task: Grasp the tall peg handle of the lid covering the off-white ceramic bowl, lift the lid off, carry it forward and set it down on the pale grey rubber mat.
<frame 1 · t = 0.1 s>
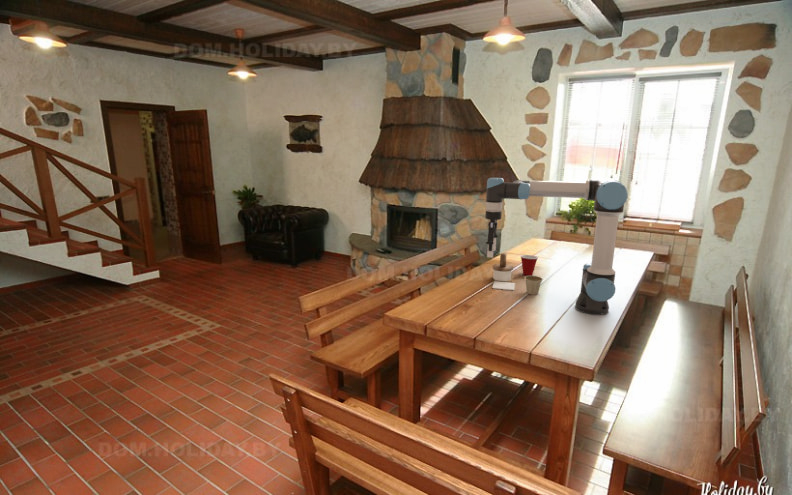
hand: (491, 253, 203), 28 cm above the table, fingers open, 13 cm apart
flower pot: (532, 293, 230), on the table
bowl: (502, 278, 255), on the table
mat: (503, 286, 241), on the table
lid: (502, 268, 253), point 6 cm above the table, touching bowl
plastic cup: (527, 274, 263), on the table
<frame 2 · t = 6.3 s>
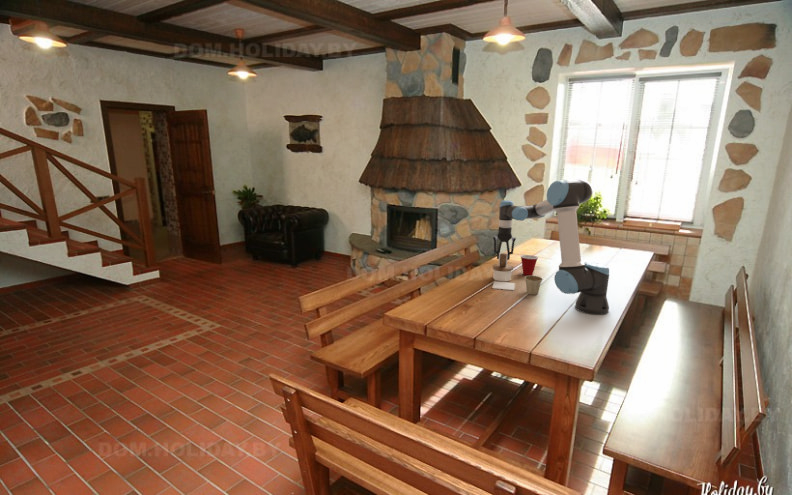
hand: (502, 264, 252), 9 cm above the table, fingers closed on lid, 4 cm apart
lid: (502, 268, 253), point 7 cm above the table, touching bowl, gripper
everything else where it was.
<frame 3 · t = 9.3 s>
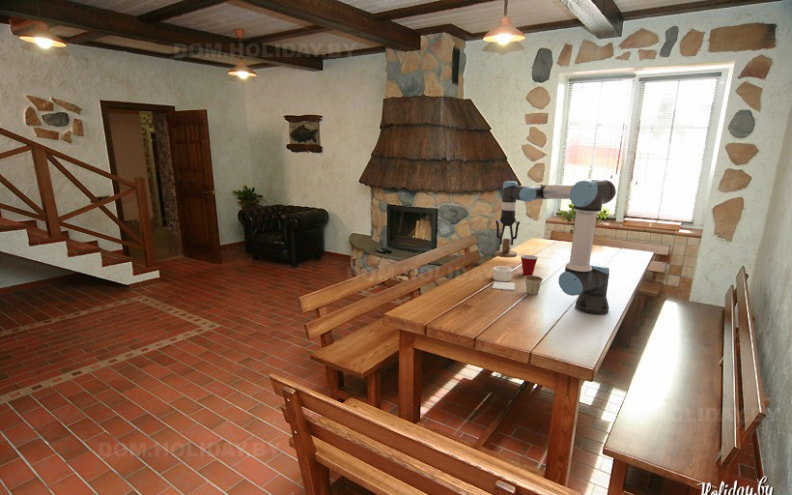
hand: (505, 250, 236), 22 cm above the table, fingers closed on lid, 4 cm apart
lid: (505, 254, 237), point 19 cm above the table, touching gripper
everything else where it was.
when the fingers open (5 cm above the table, at t = 12.8 s): lid drops 2 cm, resting on mat.
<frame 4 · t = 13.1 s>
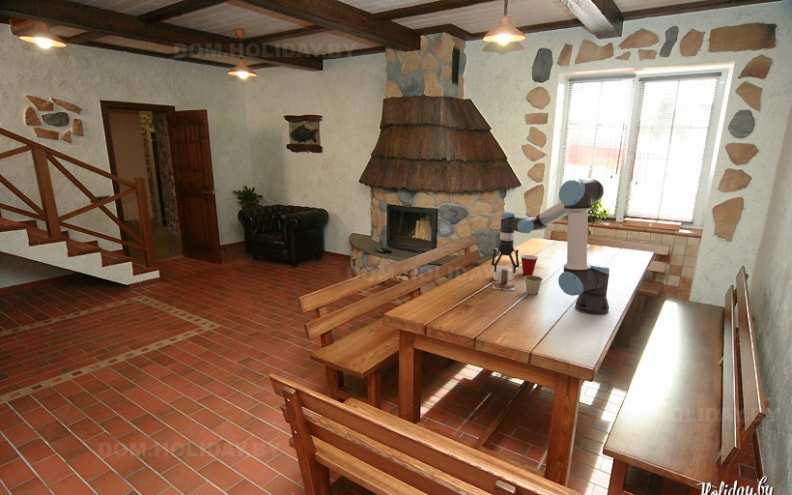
hand: (504, 277, 240), 5 cm above the table, fingers open, 8 cm apart
lid: (503, 285, 241), point 1 cm above the table, touching mat
everything else where it was.
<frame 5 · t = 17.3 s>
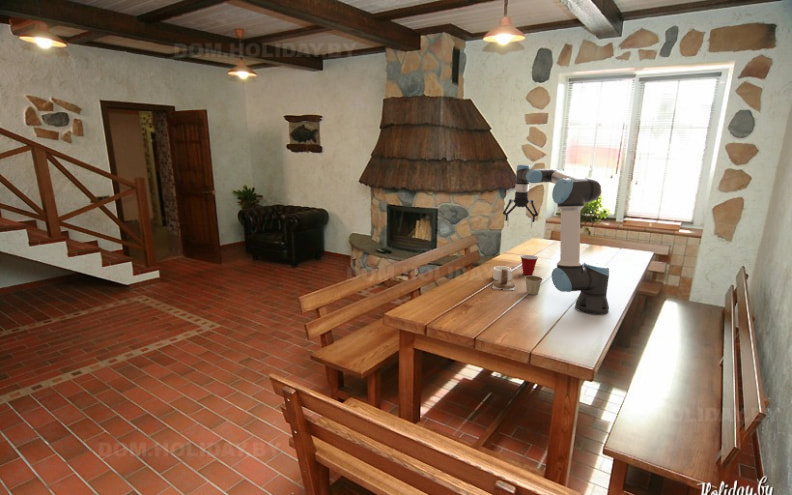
hand: (519, 226, 250), 32 cm above the table, fingers open, 13 cm apart
nothing on the table moved.
at the end: lid inside the target area on the mat (0.0 cm from its centre), point 0.6 cm above the mat's base; lid tilted 1°; the gripper is holding nothing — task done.
